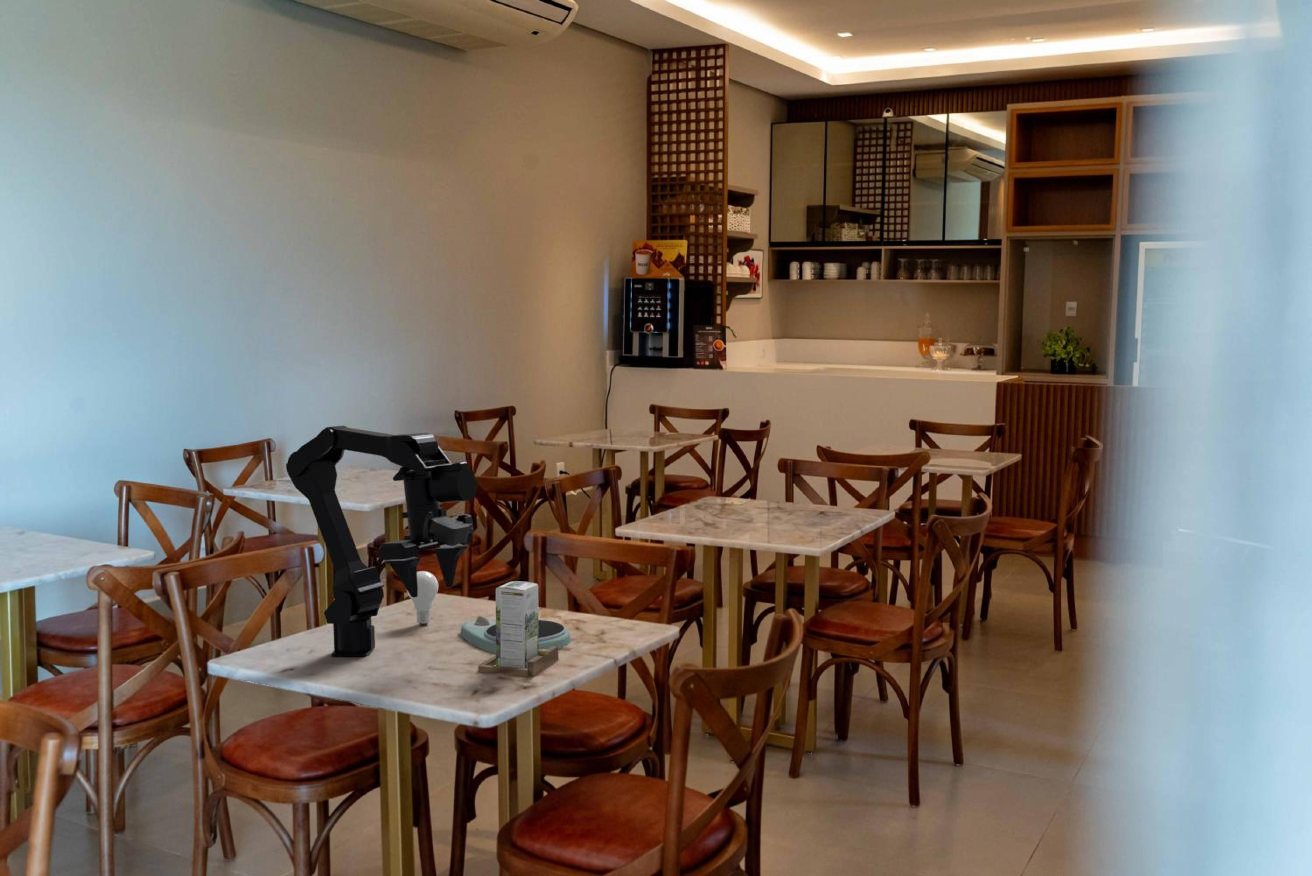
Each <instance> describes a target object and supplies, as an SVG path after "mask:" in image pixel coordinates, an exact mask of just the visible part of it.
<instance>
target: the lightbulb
mask: <svg viewBox="0 0 1312 876" xmlns="http://www.w3.org/2000/svg"><path fill="white" fill-rule="evenodd" d="M417 585H418V596H417V597H411V595H410V594H409V592H408V591H407V590H406V592H407V594H408V597H409V598H410V600H411V601H412V603H413V606H414V609H415V611H416V623H417V624H419V625H421V626H426V625H427V624H429V623H430V622H431V614H430V613H431V609H432V606H433V605H432V604H433V601H434V599H435V598H436V595H438V591H439V581H438V580H437V577H436V576H435V575H434V574H433V573H431V572H430V571H426V570H419V571H417Z"/></svg>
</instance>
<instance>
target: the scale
mask: <svg viewBox="0 0 1312 876" xmlns="http://www.w3.org/2000/svg"><path fill="white" fill-rule="evenodd" d="M460 636H461V637H462V638H463V639H464V640H465V641H467V642H469V643H470V644H471V645H473V646H475V647H477V648H479V649H481V650H483V651H486V652H487V651H488V652H490V653H494V654H496V619H493V618H492V619H488V618H487V617H486V616H484V615H479V616H477V617H476V619H475V620H473V619H472V620H469V621H466V622H464V623H463V624H462V625H461V628H460ZM570 642H572V638H571V634H570V631H569V629H568V628H566V627H565V626H564V625H563V624H561V623H559V622H557V621H551V620H545V619H544V620H543V619H538V650H540V649H548V648H550V647H551V646H558V650H560V648H561V649H563V648H562V647H564V646H566V647H568V646H569V645H570V644H571V643H570ZM569 643H570V644H569ZM568 644H569V645H568ZM567 645H568V646H567ZM564 648H565V647H564Z"/></svg>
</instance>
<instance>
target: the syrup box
mask: <svg viewBox="0 0 1312 876" xmlns="http://www.w3.org/2000/svg"><path fill="white" fill-rule="evenodd" d="M495 620H496V653H495V655H496V664H495V666H503V667H515V668H527V662H528V661H529V660H531V659H532V658H534V657H536V656H537V655H538V620H539V584H538V583H534V582H529V581H518V580H517V581H509V582H507V583H505V584H503V585H500V586H498V587H496V588H495Z"/></svg>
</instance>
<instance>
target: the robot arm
mask: <svg viewBox="0 0 1312 876" xmlns="http://www.w3.org/2000/svg"><path fill="white" fill-rule="evenodd" d="M345 451H350V452H356V453H361V454H366V455H367V454H368V455H373V456H379V457H382V458H385V459H387V461H389V463H392V464H395V465H398V466H400V468H399V470H398V472H396V473H395V474H394V475H393V477H392V481H394V482H399V481H400V482H401V481H403V488H404V489H403V490H404V499H405V507H406V511H403V512H401V517H402V519H407V526H408V533H409V534H405V535H404V539H403V540H393V541H388V542H383V543H381V544H380V546H379V548H378V556H379V561H384V563H385V564H386V565H389V566H390V568H391V569H392V570H393V571H394V573H395V574H396V576H398V578H399V580H400V581H401V583H402V584H403V586H404V588H405V589H406V592H407V591H408V592H409V594H410V595H411V597H417V596H418V585H417V572H418V571H417V568H418V567H417V566H418V564H419V563H420V561H421V560H422V557H418V555H419V553H420V551H423V550H427V549H431V548H434V551H435V555H436V558H437V561H438V565H439V568H440V572H441V574H442V575H441V576H442V578H443V582H444V583H445V586H446V588H452V587H453V585H454V581H455V577H456V573H457V572H456V571H457V567H458V563H459V560H460V556H461V555H462V554H463V553H464V551H465V550H468V549H469V547H470V546H469V544H472V543H474V539H473V533H474V532H475V531H474V522H473V518H472V515H470V514H468V513H463V514H459V515H458V517H449V516H448V514H447V510H446V509H445V507H440V503H442V504H445V503H446V504H447V503H460V502H471V501H472V500H473V499H474V498H475V497H476V496H477V493H478V480H477V479H476V477H475V474H474V472H473V471H472V470H471V469H469V467H468V466H469V465H468V462H467V461H461V462H455V463H452V462H451V460H450V459H449V458H448V456H447V455H446V453H445V452H444V451H443V449H442V448H441V447H440V446H439V444H438V441H437V440H436V437H435V435H433V434H432V433H430V432H417V433H416V432H415V433H414V432H413V433H403V434H401V433H400V434H390V433H384V432H379V431H372V430H364V429H360V428H352V427H348V426H346V425H335V426H327V427H325V428H324V429H322V430H321V431H319V433H318V434H316V436H315V437H313V438H312V439H311V440H309V441H308V442H307V441H306V443H304V444H302V445H301V446H300V447H299V448H298V449H297V450H296V451H293V452H292V453H291V454H290V455H289V457H288V459H287V462H286V463H285V469H286V472H287V474H288V477H289V478H290V480H291V482H292V484H293V486H294V487H295V489H296V490H297V491H298V492H299V493H301V495H303V496H304V497H305V498H306V499H307V500H308V501H309V502H308V503H309V504H310V505H309V506H310V507H311V509H312V513H313V514H314V515H313V516H314V518H315V522H316V524H317V525H318V529H319V531H320V534H321V536H322V539H323V543H324V544H325V547H326V550H327V553H328V555H329V558H330V561H331V564H332V566H333V568H334V577H333V584H332V591H333V594H334V600H333V601H332V602H331V603H330V604H329V605H328V607H327V608H326V609H325V611H324V612H323V614H324V618H325V621H326V624H332V626H333V627H332V628H333V651H332V652H331V653H330V655H331V657H366V656H368V655H369V654H370V653H371V652H372V651H373V650H374V649H375V648H376V638H375V637H376V632H375V628H376V627H375V625H372V617H376V616H378V613H379V610H380V606H381V604H382V601H383V599H384V597H385V594H384V587H385V584H384V583H383V582H382V580H381V578H380V574H379V570H378V568H377V567H376V566H371V567H368V566H367V565H366V564H365V563H364V562H363V561H362V559H361V557H360V554H359V551H358V548H357V546H356V544H355V541H354V538H353V536H352V532H351V531H350V528H349V525H348V522H347V519H346V516H345V515H344V512H343V509H342V506H341V504H340V501H339V497H338V495H337V494H336V493H337V492H336V485H337V479H338V478H337V477H338V472H337V468H336V465H337V464H338V463H339V462H340V461H341V460H342V459H343V457H344V453H345ZM435 547H436V548H435Z"/></svg>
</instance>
